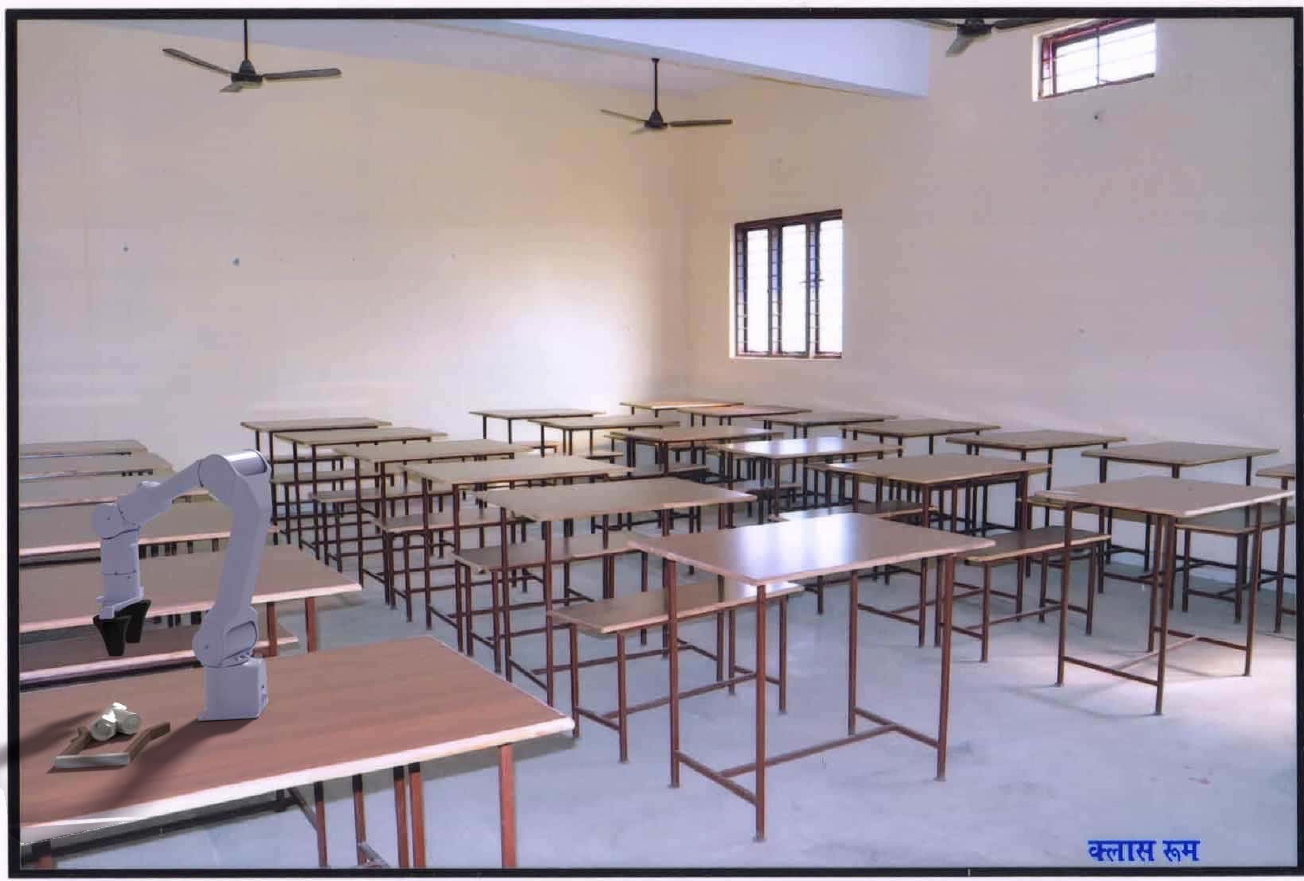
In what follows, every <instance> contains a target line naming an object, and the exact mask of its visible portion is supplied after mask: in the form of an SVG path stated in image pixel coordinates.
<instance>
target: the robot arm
mask: <svg viewBox="0 0 1304 881" xmlns="http://www.w3.org/2000/svg"><path fill="white" fill-rule="evenodd" d="M271 474H272V467H271V465H270V464H269V463H268V460H267V459H266V458H265V456H264V455H263V454H262V453H261V452H260V451H258V450H257V449H254V448H245V449H244V448H243V449H242V450H236V451H232V452H231V451H230V452H225V453H211V454H209V455H207V456H205V457H204V458H200V459H196V461H194V462H193V463H192V464H190V465H187V467H185V468H183V469H182V470H180V471H179V472H177V473H175V474H174V475H172V476H171V477H169V478H167V479H166V480H164V481H162V482H161V483H160V482H157V481H148V480H145V481H141V482H139V483H137V484H136V485H135V486H136V489H134V490H132V491H130V492H128V493H122V494H119V495H117V496H116V500H115V501H114V502H109V503H107V502H105V503H104V502H103V503H99V504H98V505H97V506H96V507H95V508H94V509H93V510H92V512H91V514H90V526H91V529H92V530H93V532H94V533H95V534H96V536H98V537H99V545H100V547H99V548H100V562H101V563H100V564H101V565H100V566H101V580H102V583H101V584H102V595H101V596H98V597H96V598H95V602H96V603H97V604H98V603H101V605H100V606H99V607H98V614H96V615H95V616H93V617H92V623H93V625H94V626H95V627H96V628H97V631H98V632H99V633H100V635H101V638H102V640H103V642H104V645H105V649H106V651H107V652H106V653H108V654H107V655H108V656H109V657H123V656H124V654H125V648H126V644H139V643H140V642H141V640H142V634H143V628H144V623H145V619H146V617H147V613H148V611H149V609H150V606H152V600H151V599H144V597H145V589H144V588H145V587H144V586H141V574H140V573H141V572H140V558H139V557H140V555H139V554H140V553H139V541H140V539H141V530H142V529H143V528H144V526H145V524H146V523H148V522H150V521H152V520H154V519H156V518H157V517H160V516H161V515H164V514H165V513H168V512H169V510H170V509H171V508H172V503H173V500H176V499H178V498H180V497H182V496H184V495H186V494H188V493H190V492H192V491H195V490H196V489H198V488H200V489H202V488H205V489H206V490H207V491H208V492H209V494H211V495H212V496H214V497H215V498H216V499H217V500H218V501H219V502H220V503H221V504H223V505H224V506H225V507H226V508H227V509H229V510H230V511H231V513H233V520H232V524H231V528H230V534H229V538H228V543H227V545H226V546H227V547H226V552H225V557H224V561H223V565H222V570H221V574H220V580H219V584H218V588H217V589H218V590H217V593H216V597H215V598H216V599H215V602H214V604H213V606H212V607H211V608H210V609H209V610H208V611H207V613H206V614H205V615H204V616H203V618H202V619H201V623H200V627H199V628H198V630H197V631H196V632H195V633H194V635H193V637H192V641H191V644H192V645H191V646H192V653H193V654H194V656H195V657H196V659H197V660H198V661H199V662H200V665H201V666H203V669H204V670H203V671H204V672H203V674H204V691H205V692H204V696H205V697H204V698H205V709H204V710H203V711H202V713H201V714H200V715H199V716H198V717H197V721H198V722H200V721H202V722H203V721H217V720H218V721H221V720H240V719H241V720H242V719H256V718H259V716H260V715H261V714H262V712H263V711H264V709H265V708H266V707H267V705H268V703H270V701H269V698H268V696H269V695H268V678H267V677H268V676H267V674H268V673H267V672H268V671H267V664H266V660H265V659H263V658H254V657H251V656H252V655H253V648H255V646H256V645H257V644H258V641H259V637H260V631H259V626H258V621H259V616H260V615H259V612H258V611H257V609H255V608H253V606H251V605H252V601H253V597H254V592H255V587H256V583H257V579H258V574H259V571H260V565H261V560H262V557H263V552H264V548H265V543H266V540H267V539H266V538H267V533H268V530H269V525H270V520H271V516H272V513H273V503H272V495H271V489H270V478H271Z"/></svg>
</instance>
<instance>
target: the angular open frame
mask: <svg viewBox="0 0 1304 881" xmlns="http://www.w3.org/2000/svg"><path fill="white" fill-rule="evenodd" d="M170 732H171V723H170V722H169V721H164V722H160V723H159V724H156V725H154V726H151V727H148V728H145V729H143V731H142V732H141V733H140V734H139V735H138V736H137V737H136V738H134V740H133V741H132V742H131V743H130V744H129V745H128V746H127V747H126V748H125V749H124V750H123V751H122V752H113V753H112V752H111V753H110V752H108V753H91V754H80V753H81V751H83V750H84V749H85V748H86V747H87V746H88V745H89V744H90V743H91V742H92V737H91V734H90V730H89V729H88V727H87V726H86V725H81V726H77V735H78V737H77V738H76V739H75V740H73V741H72V742H71V743H70V744H69V745H68V746H67V747H65V749H63V751H61V752H60V753H59V754H58V755H57V756H56V757H55V758H54V759H53V760H54V769H74V768H75V769H76V768H92V767H95V768H96V767H110V766H112V767H113V766H129V764H130V763H131V762H132V760H133V759H135V757H136V756H137V755H138V754H139V753H140V752H141V751H142V750H143V749H144V748H145V747H146V746H147V744H149V742H150V741H151V740H153V739H155V738H158V737H161V736H163V735H165V734H167V733H170Z"/></svg>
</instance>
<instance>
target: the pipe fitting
mask: <svg viewBox="0 0 1304 881" xmlns="http://www.w3.org/2000/svg"><path fill="white" fill-rule="evenodd" d="M142 724H143V719H142V716H141V715H140V714H139V713H135V712H131V711H128V707H127V706H126V705H123V704H121V703H119V702H113V703H112V704H110V705H108V706H107V707H105V708H103V709H102V711H101V714H100V715H99V717H98V718H97V719H95V720H94V721H91V723H90V726H89V728H90V730H89V731H90V734H91V739H94V740H96V741H99V742H105V741H107V740H108V739H110V738H112V737H114V736H115V735H116V734H117V733H121V734H125V735H128V736H129V735H134V734H135V733H137V732H138V731H139V730H141V729H140V728H141V726H142Z"/></svg>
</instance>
